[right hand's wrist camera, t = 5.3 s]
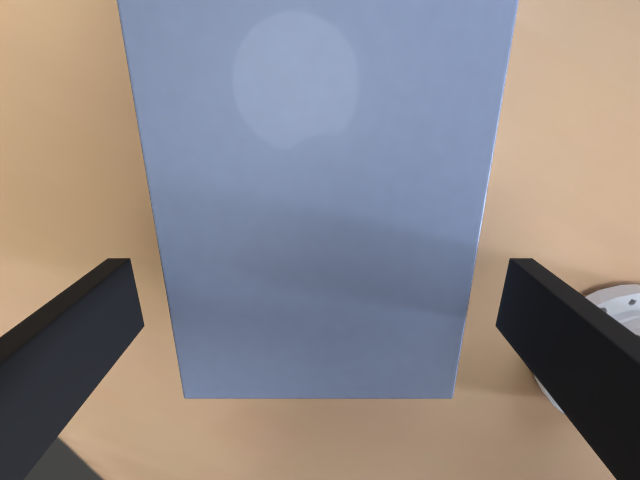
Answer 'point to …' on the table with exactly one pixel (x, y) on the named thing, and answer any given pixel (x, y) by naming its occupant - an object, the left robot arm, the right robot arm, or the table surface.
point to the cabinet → (318, 186)
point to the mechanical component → (614, 312)
